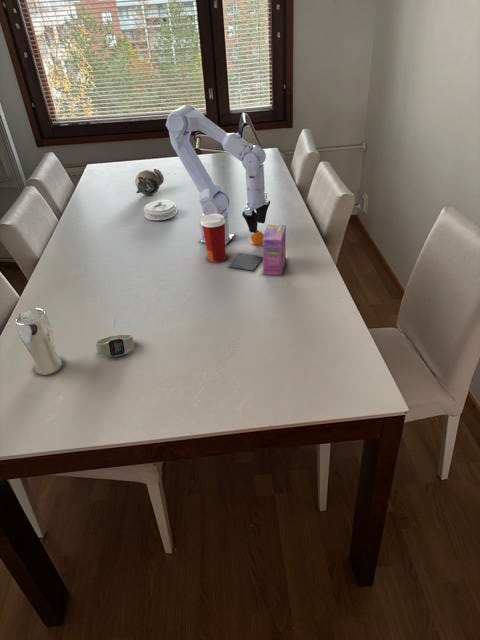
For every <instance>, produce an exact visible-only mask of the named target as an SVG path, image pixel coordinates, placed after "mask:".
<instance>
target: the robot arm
mask: <svg viewBox="0 0 480 640" xmlns="http://www.w3.org/2000/svg"><path fill="white" fill-rule="evenodd" d="M165 127H166V128H167V130H168V134H169V140H170V144H171V147H172V148H173V150H174V152H175V153H176V155H177V157H178V158H179V160H180V162H181V164H182V165H183V167H184V168H185V170H186V172H187V174H188V176H189V177H190V179H191V181H192V182H193V184H194V186H195V187H196V189H197V190H198V192H199V203H200V205H201V210H202V213H203V214H202V215H201V216H200V219H199V230H200V239H201V240H200V243H205V238H204V232H203V227H202V225H201V223H200V222H201V221H202V218H203V217H204V216H206V215H209V214H220V215H222V216H223V217H224V219H225V220H226V222H225V246H226V245H227V244H228V243H229V242H230V241H231V240H232V239H233V238H234V237H235V234H234V233H230V225H229V224H230V223H229V213H228V208H229V206H230V203H231V200H230V197H229V195H228V194H227V193H225V192H224V191H223V190H222V188H221V187H220V186H219V185H216V184H215V183H214V181H213V180H212V178H211V176H210V174H209V173H208V171H207V170H206V167H205V165H204V164H203V163H202V160H201V159H200V157H199V156H198V154H197V152H196V150H195V149H194V146H193V145H192V143H191V141H190V138H191V134H192V132H197V131H198V132H201V133H202V134H205V135H206V136H208V137H210V138H212V139H213V140H215V141H217V142H218V143H220V144H221V145H222V149H223V150H224V151H225V152H226V153H228V154H229V155H230V156H232V157H234V158H235V159H236V160H238V161H240V162H241V165H242V167H243V168H244V170H245V184H246V185H245V186H246V204H245V205H246V206H245V208H244V210H243V211H242V212H241V216H242V217H243V219H244V220H245V222H246V225H247V227H248V231H249V233H251V234H253V233H256V232H257V230H258V224H265V223H266V218H267V213H268V209H269V207H270V205H271V201H270V200H267V199H268V192H266V190H265V189H266V187H265V167H264V166H265V165H264V163H265V161H266V158H267V154H266V151H265V149H264V148H262V146H260V145H254V143H249V142H248V141H246V140H245V139H243V138H242V136H241V134H240V133H234V132H231V133H228V132H226V131H225V130H224V129H222V128H221V127H220V126H218V125H217V124H216V123H215V122H213V121H212V120H211V119H209V118H208V117H206V116H205V115H204V113H203V112H202V111H201V110H200V109H197V108H195V106H193V105H191V104H184V105H182V106H181V107H179V108H177V109H175V110H173V111H171V112H170V113H168V115H167V119H166V122H165Z"/></svg>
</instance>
